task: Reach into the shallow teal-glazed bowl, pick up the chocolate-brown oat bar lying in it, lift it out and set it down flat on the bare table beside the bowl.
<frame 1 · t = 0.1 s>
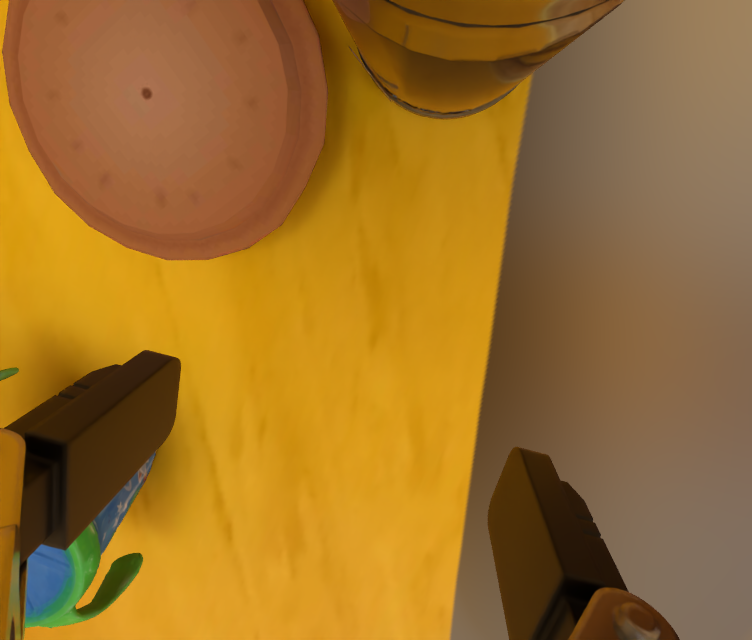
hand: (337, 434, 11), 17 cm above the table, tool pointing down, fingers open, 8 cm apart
snack cup: (109, 438, 33), on the table
pie: (198, 107, 25), on the table
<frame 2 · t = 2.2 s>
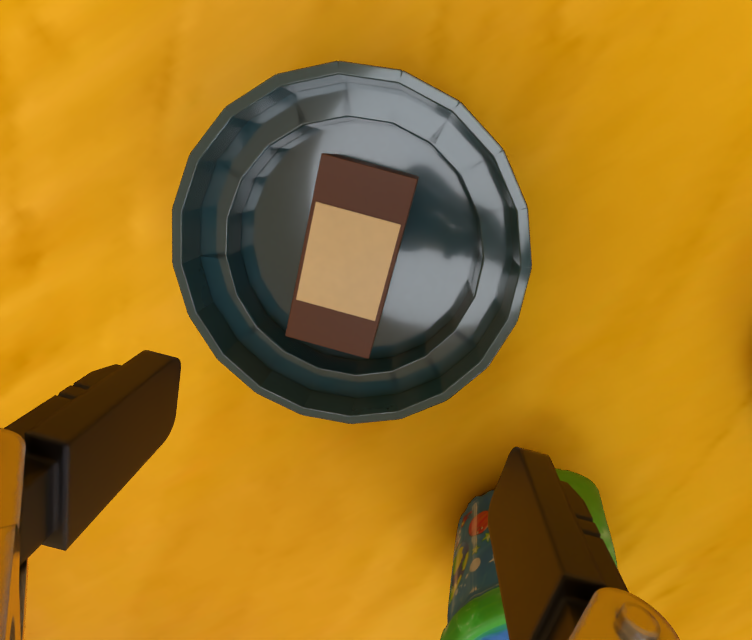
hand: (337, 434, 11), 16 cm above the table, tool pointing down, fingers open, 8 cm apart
snack cup: (513, 525, 31), on the table
oat bar: (356, 250, 25), resting on snack bowl
snack bowl: (358, 248, 26), on the table
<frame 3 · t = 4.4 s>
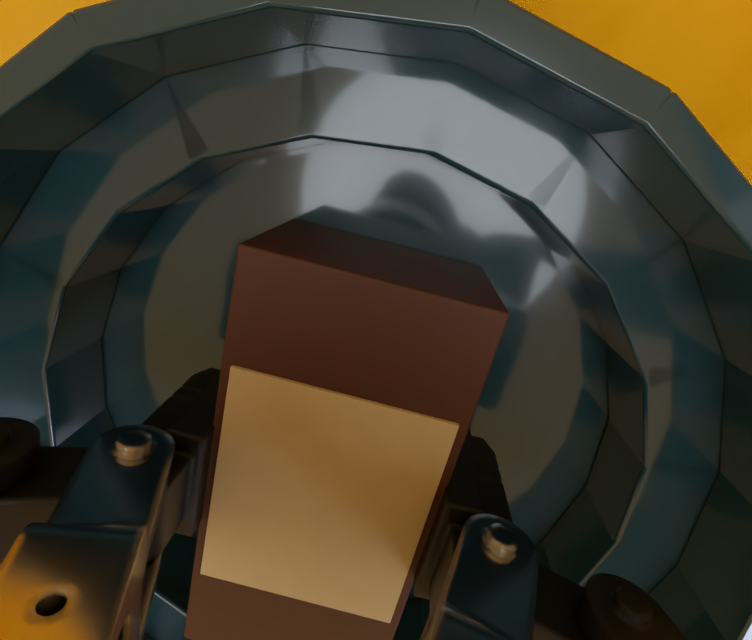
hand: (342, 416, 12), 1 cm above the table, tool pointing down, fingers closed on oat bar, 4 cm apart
oat bar: (345, 411, 12), point 1 cm above the table, touching gripper, snack bowl
snack bowl: (348, 402, 12), on the table
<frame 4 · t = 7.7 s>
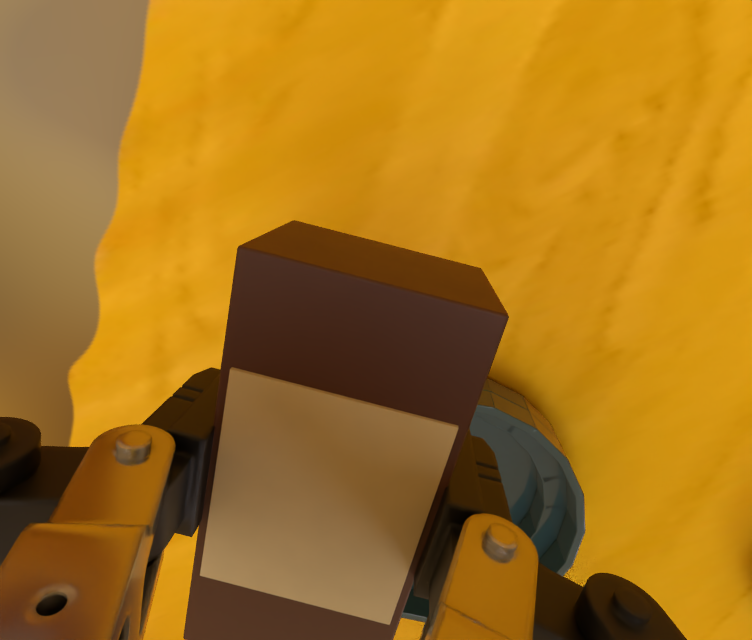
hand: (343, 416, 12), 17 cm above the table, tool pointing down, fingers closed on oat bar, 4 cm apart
oat bar: (345, 413, 12), point 17 cm above the table, touching gripper
snack bowl: (439, 476, 32), on the table
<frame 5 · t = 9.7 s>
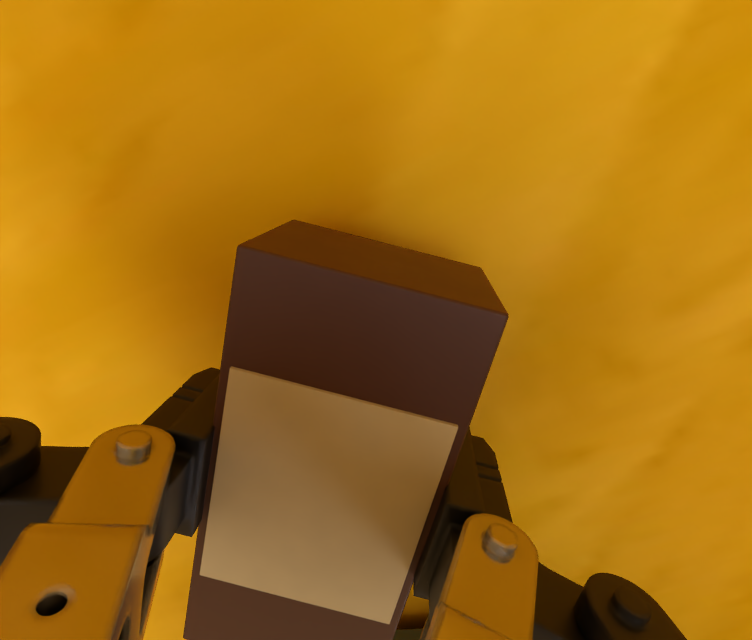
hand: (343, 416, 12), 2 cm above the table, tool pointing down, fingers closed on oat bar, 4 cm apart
oat bar: (344, 412, 12), point 2 cm above the table, touching gripper
when the fingers open (0 cm above the table, at t = 10.8 s): oat bar stays where it is, on the table.
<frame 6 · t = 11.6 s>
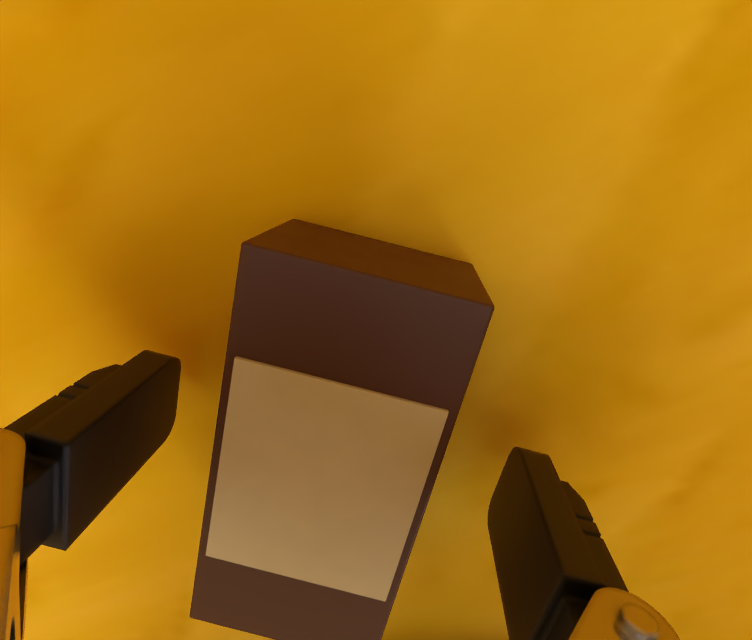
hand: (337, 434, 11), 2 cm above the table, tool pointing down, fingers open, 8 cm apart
oat bar: (343, 403, 12), on the table
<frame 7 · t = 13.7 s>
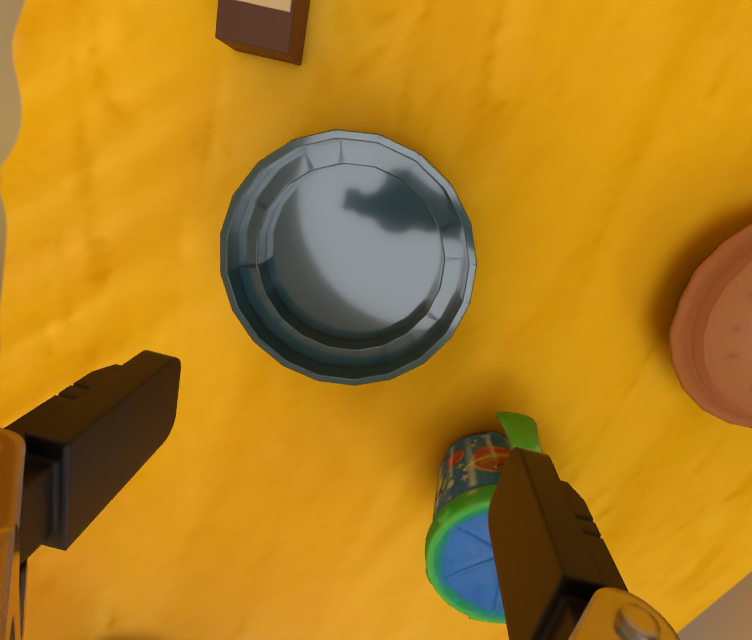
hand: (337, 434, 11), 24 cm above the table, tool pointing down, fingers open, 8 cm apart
snack cup: (483, 465, 39), on the table
snack bowl: (353, 256, 34), on the table
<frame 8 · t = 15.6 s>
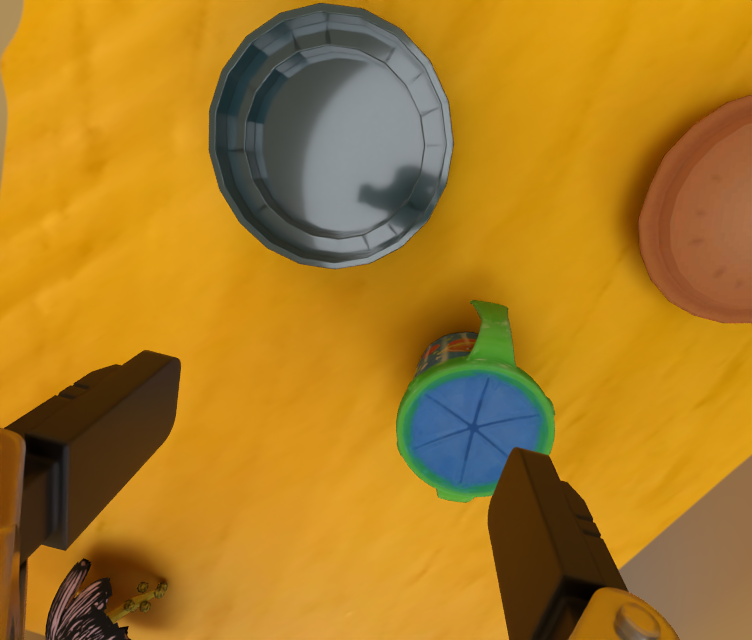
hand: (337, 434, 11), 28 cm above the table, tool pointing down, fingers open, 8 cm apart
decorative flower: (131, 585, 53), on the table
snack cup: (461, 369, 41), on the table
pie: (726, 209, 35), on the table
snack bowl: (338, 149, 36), on the table
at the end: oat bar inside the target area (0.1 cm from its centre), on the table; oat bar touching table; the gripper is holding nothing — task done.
